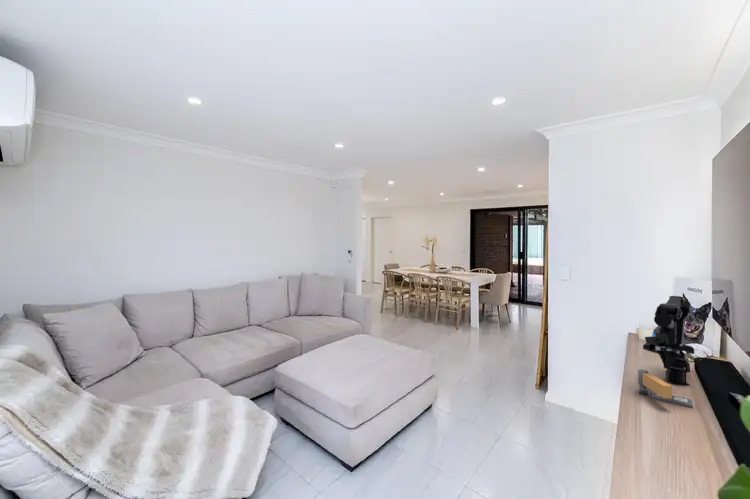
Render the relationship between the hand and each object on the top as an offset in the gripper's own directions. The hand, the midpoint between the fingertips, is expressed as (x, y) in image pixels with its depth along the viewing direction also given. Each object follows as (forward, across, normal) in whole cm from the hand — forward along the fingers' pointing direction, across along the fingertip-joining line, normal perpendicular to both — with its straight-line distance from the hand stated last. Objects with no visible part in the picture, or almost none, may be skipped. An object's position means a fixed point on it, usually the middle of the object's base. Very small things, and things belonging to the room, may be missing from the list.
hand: (666, 368), depth 138 cm
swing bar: (+11, -2, -4) cm, 11 cm away
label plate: (+12, -3, +5) cm, 13 cm away
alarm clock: (-20, -59, +50) cm, 80 cm away
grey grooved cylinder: (+12, -9, -2) cm, 15 cm away
